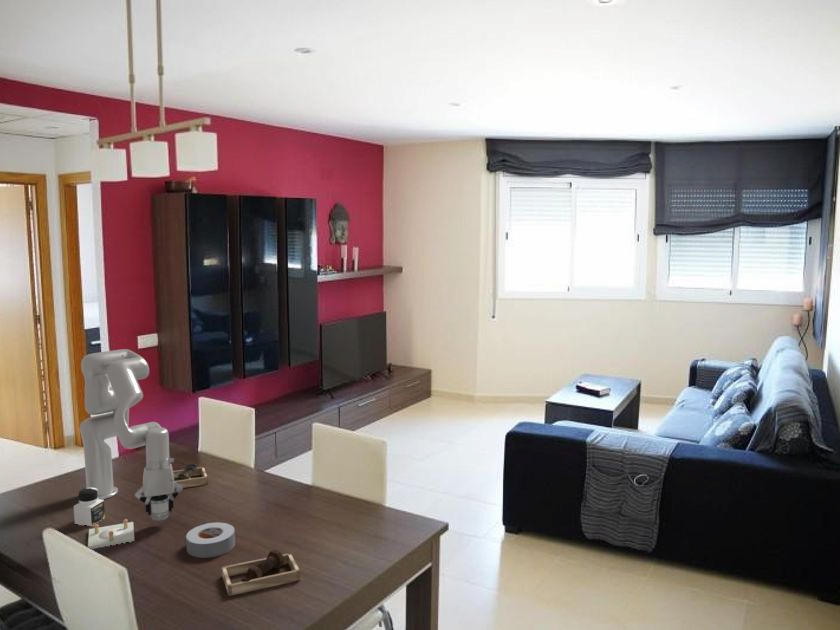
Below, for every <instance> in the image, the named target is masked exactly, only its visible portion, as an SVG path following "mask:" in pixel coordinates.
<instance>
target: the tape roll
mask: <svg viewBox="0 0 840 630" xmlns="http://www.w3.org/2000/svg"><path fill="white" fill-rule="evenodd" d="M185 535H186V536H185V543H186V552H187V554H188V555H190V556H191V557H194V558H199V559H200V558H201V559H202V558H203V559H204V558H205V559H207V558H214V557H218V556H223V555H225V554H227V553H229V552H230V551H232V550H233V548H235V545H236V537H235V535H236V534H235V527H234V526H233V525H232V524H229V523H225V522H208V523H205V524H200V525H198V526H195V527H193V528H192V529H190V530H189V531H187V533H186V534H185Z"/></svg>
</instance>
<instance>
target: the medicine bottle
mask: <svg viewBox="0 0 840 630" xmlns="http://www.w3.org/2000/svg"><path fill="white" fill-rule="evenodd" d="M105 512H106V510H105V499H102V500H101V499H98V490H97V489H96V488H87V487H86V488H83V489H80V490H79V492H78V503H76V504H75V505H73V514H74V515H73V517H74V524H78V525H77V526H84V525H87V526H86V527H94V524H96V523H97V524H98V523H99V521H100V522H102V521H103V520H105V518H106V513H105ZM102 519H103V520H102Z"/></svg>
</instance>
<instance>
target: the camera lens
mask: <svg viewBox="0 0 840 630" xmlns="http://www.w3.org/2000/svg"><path fill="white" fill-rule="evenodd" d="M149 502H150V513H151V515H150V518H151V520H152V521H154V522H155V521H156V522H159V521H160V522H161V521H164V520H166V519H168V517H169V515H170V512H169V496H168V494H166V495H160V496H152V497H151V499H150V501H149Z"/></svg>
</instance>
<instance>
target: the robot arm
mask: <svg viewBox="0 0 840 630" xmlns="http://www.w3.org/2000/svg"><path fill="white" fill-rule="evenodd" d="M80 367H81V372H82V375H83V379H84V409H85V412H86V413H87V414H88V415H90V417H88V418H85V419H84V420H83V421H81V423H80V424H79V432H80V437H81V440H82V445H83V446H82V447H83V454H84V456H83V457H84V470H85V471H84V472H85V483H86V484H85V485H86V488H96V489H97V490H98V499H101V500H106V499H110V498H111V497H112V498H113V497H114V496H115V495H117V494H118V492H119V488H118V487H117V486H114V475H113V474H114V473H113V458H112V449H111V447H110V445H109V444H107V443H106V442H105V440H106V439H110V438H111V439H112V438H115V437H117V438H118V440H119V443H120V444H121V446H122V447H123V448H124V449H127V450H133V449H136V448H139V447H140V448H141V447H144V446H145V457H146V458H145V463H146V466H145V467H143V468H144V469H143V474H142V475H143V476H142V486H141V487H140V488H138V490H136V492H135V493H134V496H135V498H137V499H139V501H141V502H143V503H144V504H145V513H147V515H148V516H151V513H150V499H151V497H152V496H160V495H167V496H168V497H169V513H170V512H171V513H172V509H174V500H175V499H176V498H177V496H178V495H179V494H180V493H181V492H182V491H183V489H184V488H182V486H180V485H179V484H178V483H176V482H175V481H176V480H175V479H174V474H173V471H174V469H173V465H172V463H174V462H175V458H174V457H173V458H172V457H170V441H169V440H170V437H169V436H170V435H169V430H168V429H167V428H166V427H162V426H161V425H160V424H159V423H158V422H157V421H156V422H155V421H150V422H147V423H141V424H136V425H133V426H129V425H130V424H129V423H130V422H129V420H130V409H131V408H132V407H134V406H136V405H137V404H138V403H140V401H142V400H143V398H144V393H143V390H142V389H141V388H142V387H141V386H140V383H139V382H138V381H139V380H145V379H146V378H148V376H149V375H150V367H149V363H148V362H147V361H146V360H145V358H144V357H142V356H141V355H139V354H138V353H137V352H134V351H133V350H131V349H127V348H125V349H123V348H121V349H115V350H106V351H99V352H94V353H89V354H86V355H85V356H83V357H82V359H81V362H80ZM110 385H111V387H110ZM174 487H176V488H177V489H174ZM142 493H143V495H142Z"/></svg>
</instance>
